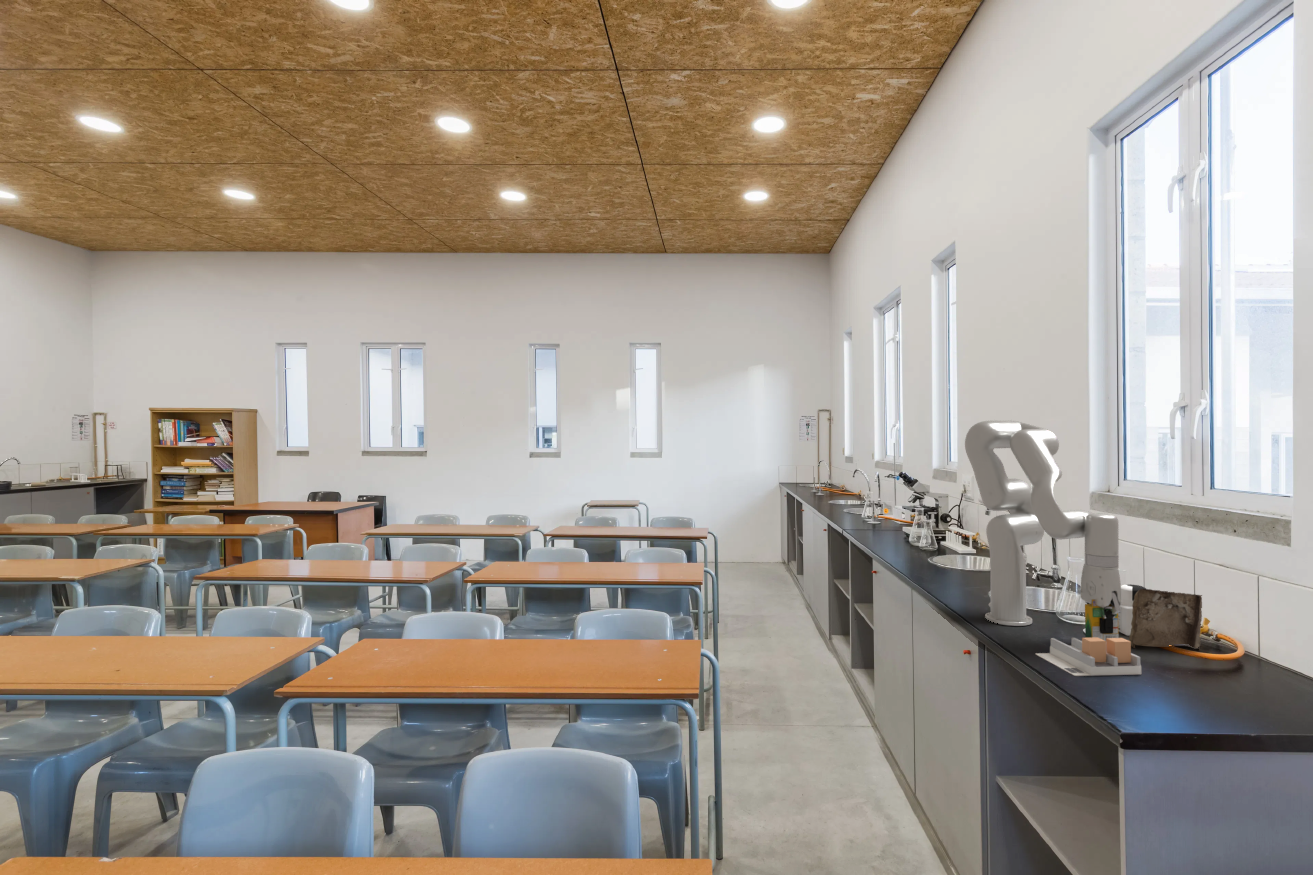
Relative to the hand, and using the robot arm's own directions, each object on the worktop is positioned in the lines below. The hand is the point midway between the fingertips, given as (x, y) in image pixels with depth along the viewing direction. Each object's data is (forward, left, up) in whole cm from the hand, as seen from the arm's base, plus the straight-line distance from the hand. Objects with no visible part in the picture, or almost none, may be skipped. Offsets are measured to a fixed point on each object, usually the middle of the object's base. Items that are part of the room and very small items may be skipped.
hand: (1101, 630), depth 185 cm
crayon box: (0, 0, -3) cm, 3 cm away
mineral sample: (+2, +15, -4) cm, 16 cm away
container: (-12, +17, -4) cm, 21 cm away
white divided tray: (+13, -13, -4) cm, 19 cm away
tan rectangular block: (+17, -14, -2) cm, 22 cm away
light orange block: (+18, -8, -2) cm, 20 cm away
